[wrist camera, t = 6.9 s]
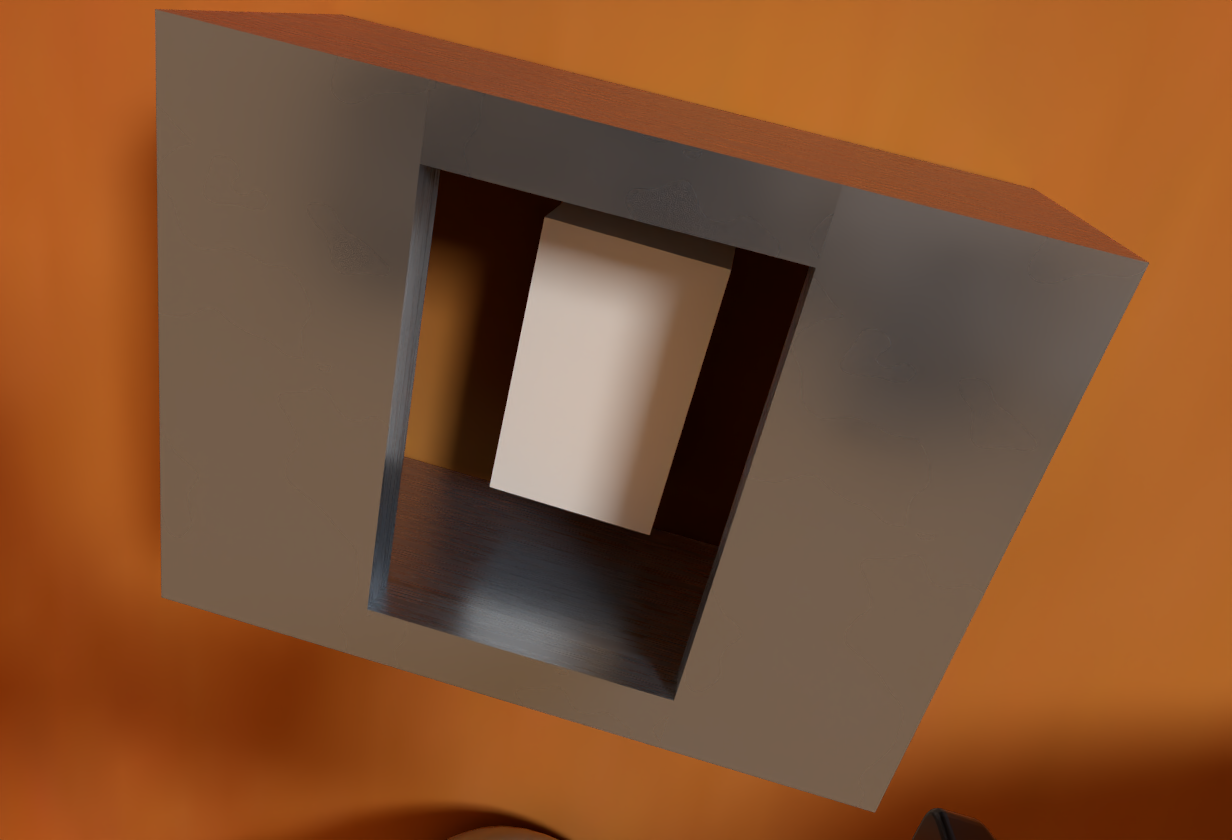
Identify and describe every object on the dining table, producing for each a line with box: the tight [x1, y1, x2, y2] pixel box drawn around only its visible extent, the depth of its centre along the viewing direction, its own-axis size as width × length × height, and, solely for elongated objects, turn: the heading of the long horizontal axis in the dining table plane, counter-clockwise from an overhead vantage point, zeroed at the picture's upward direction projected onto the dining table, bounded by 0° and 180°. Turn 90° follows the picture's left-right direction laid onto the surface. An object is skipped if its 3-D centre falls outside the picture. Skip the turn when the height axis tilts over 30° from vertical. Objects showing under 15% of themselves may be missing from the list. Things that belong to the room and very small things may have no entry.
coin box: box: [155, 9, 1149, 813], centre depth 14 cm, size 12×9×5 cm
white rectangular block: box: [490, 202, 736, 535], centre depth 16 cm, size 3×5×2 cm, turn 166°
